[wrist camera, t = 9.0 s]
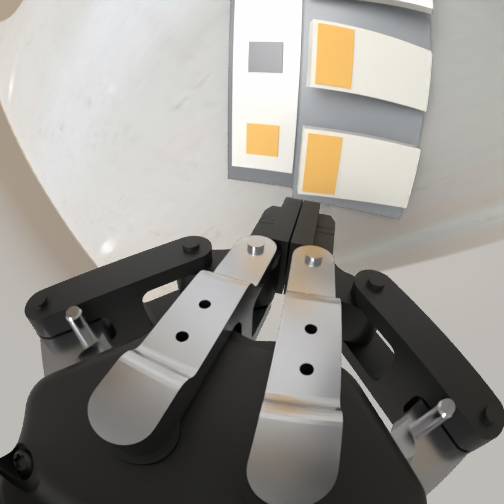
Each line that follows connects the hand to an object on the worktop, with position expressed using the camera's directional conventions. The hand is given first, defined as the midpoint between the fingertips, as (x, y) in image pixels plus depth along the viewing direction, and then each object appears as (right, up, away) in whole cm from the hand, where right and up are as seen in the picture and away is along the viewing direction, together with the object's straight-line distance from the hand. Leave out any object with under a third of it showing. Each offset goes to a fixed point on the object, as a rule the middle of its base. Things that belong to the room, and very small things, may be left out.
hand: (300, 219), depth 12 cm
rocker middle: (+6, +12, +3) cm, 14 cm away
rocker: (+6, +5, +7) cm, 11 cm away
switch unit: (+4, +15, +7) cm, 17 cm away
